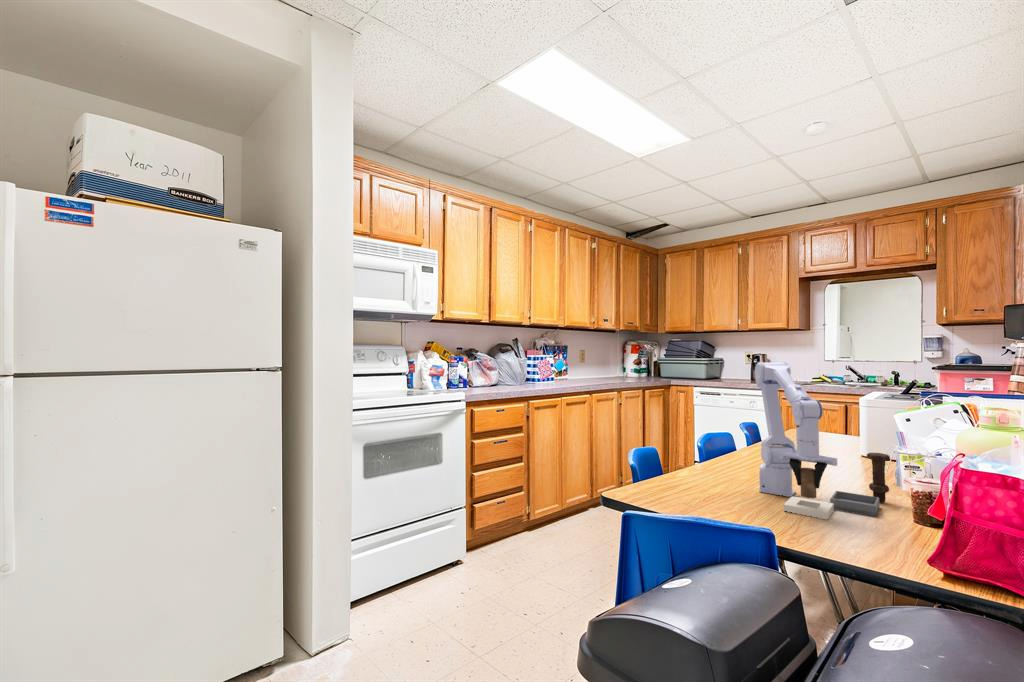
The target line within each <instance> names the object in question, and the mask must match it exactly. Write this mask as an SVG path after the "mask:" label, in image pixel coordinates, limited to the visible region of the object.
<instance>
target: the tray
mask: <svg viewBox="0 0 1024 682" xmlns="http://www.w3.org/2000/svg"><path fill="white" fill-rule="evenodd" d="M829 501H830V502H829V503H834V510H835V509H837V510H836V511H841V510H843V511H842V512H847V511H848V512H847V513H852V514H859V515H863V516H869V517H874V516H876V517H877V516H878V513H879V510H880V503H879V497H873V495H872V496H871V495H866V494H860V493H853V492H852V493H851V492H846V491H839V490H835V491H834V492H833V494H832V496H831V497H830V499H829ZM877 512H878V513H877Z"/></svg>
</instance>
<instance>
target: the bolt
mask: <svg viewBox="0 0 1024 682" xmlns="http://www.w3.org/2000/svg"><path fill="white" fill-rule="evenodd" d="M866 458H867V459H869V460H871V466H872V467H871V468H872V471H871V473H872V482H871V483H869V484H868V488H869V489H870V491H872V496H873V497H879V504H884V502H886V500H887V499H886V493H888V492H889V491H890V487H889V486H888V485H887V484H886V467H885V466H886V462H887V461H888V462H889V461H890V460H891V456H890V455H889V454H888V453H887V454H886V453H882V452H868V453H866Z"/></svg>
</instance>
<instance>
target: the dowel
mask: <svg viewBox="0 0 1024 682" xmlns="http://www.w3.org/2000/svg"><path fill="white" fill-rule="evenodd" d="M815 480H816V475H815V468H810V467H801V468H800V482H801V485H800V496H801V497H802V498H805V499H816V498H817V488H815Z"/></svg>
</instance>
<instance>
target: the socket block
mask: <svg viewBox="0 0 1024 682" xmlns="http://www.w3.org/2000/svg"><path fill="white" fill-rule="evenodd" d="M784 511H787V512H786V513H790V512H792V513H791V514H795V513H797V514H796V515H800V514H802V515H801V516H805V515H806V516H807V517H810V516H812V518H816V517H817V519H820V520H821V519H822V520H827V521H828V520H829V518H830V517H831V515H832V513H833V512H834V511H835V509H834V503H830V502H827V501H821V500H817V499H812V498H806V497H799V496H793V495H792V496H791V497H789V498H788V500H787V501H785V503H784V504H783V512H784ZM806 516H805V517H806Z"/></svg>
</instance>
